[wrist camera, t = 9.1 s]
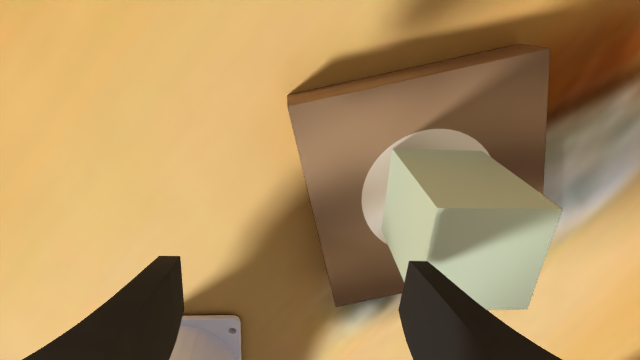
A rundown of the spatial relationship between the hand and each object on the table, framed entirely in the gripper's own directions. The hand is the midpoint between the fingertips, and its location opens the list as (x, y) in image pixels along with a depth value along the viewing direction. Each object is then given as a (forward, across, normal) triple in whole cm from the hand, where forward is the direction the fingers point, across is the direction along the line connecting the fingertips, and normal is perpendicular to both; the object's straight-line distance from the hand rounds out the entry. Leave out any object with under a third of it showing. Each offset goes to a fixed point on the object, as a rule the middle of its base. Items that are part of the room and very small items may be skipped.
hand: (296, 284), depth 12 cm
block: (+7, -7, 0) cm, 10 cm away
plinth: (+10, -7, 0) cm, 12 cm away
